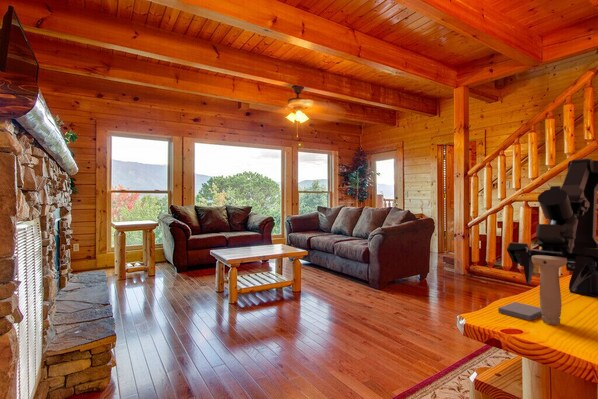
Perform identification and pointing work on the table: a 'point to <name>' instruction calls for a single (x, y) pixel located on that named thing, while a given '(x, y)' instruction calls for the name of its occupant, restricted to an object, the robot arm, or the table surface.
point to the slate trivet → (521, 311)
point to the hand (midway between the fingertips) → (547, 286)
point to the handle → (550, 287)
